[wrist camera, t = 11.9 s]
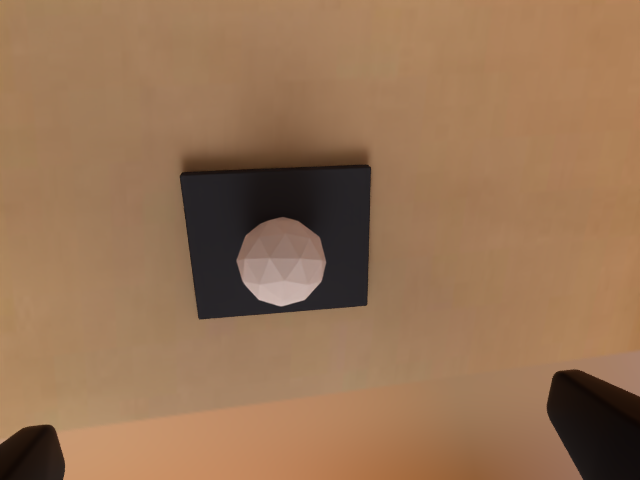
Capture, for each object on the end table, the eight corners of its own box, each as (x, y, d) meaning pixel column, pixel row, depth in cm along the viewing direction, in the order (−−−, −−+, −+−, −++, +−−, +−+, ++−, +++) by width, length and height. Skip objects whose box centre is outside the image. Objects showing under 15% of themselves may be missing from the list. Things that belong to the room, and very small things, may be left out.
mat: (199, 313, 17) (198, 320, 16) (181, 172, 15) (179, 174, 14) (364, 300, 18) (367, 306, 17) (368, 164, 16) (371, 166, 15)
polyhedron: (238, 206, 15) (234, 235, 12) (323, 208, 16) (337, 237, 13) (237, 279, 16) (234, 322, 13) (317, 280, 16) (329, 321, 14)
